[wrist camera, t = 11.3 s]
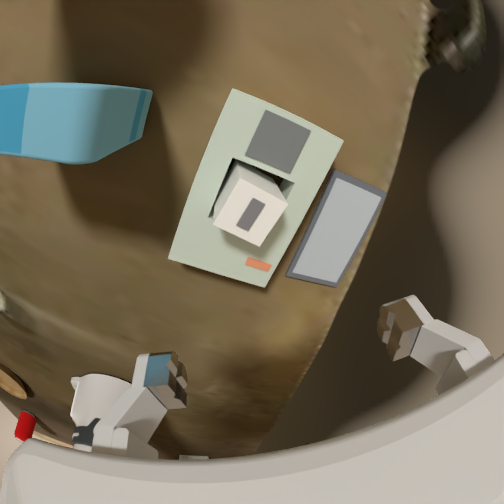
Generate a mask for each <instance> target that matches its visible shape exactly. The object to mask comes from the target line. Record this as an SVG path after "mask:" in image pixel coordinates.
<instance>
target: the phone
mask: <svg viewBox="0 0 504 504" xmlns="http://www.w3.org/2000/svg"><path fill="white" fill-rule="evenodd" d="M386 194H387V193H386V192H384V191H382V190H380V189H378V188H376V187H374V186H372V185H369V184H367V183H365V182H363V181H361V180H359V179H356V178H354V177H352V176H350V175H347V174H345V173H343V172H341V171H338V170H336V169H334V168H333V171H332V173H331V175H330V178H329V180H328V182H327V184H326V187H325V189H324V191H323V194H322V196H321V198H320V200H319V203H318V205H317V207H316V209H315V211H314V214H313V216H312V218H311V220H310V222H309V225H308V227H307V229H306V231H305V233H304V235H303V238H302V240H301V242H300V244H299V246H298V248H297V250H296V252H295V255H294V257H293V259H292V261H291V263H290V265H289V267H288V269H287V271H286V273H285V274H286V276H288V277H293V278H297V279H302V280H306V281H310V282H315V283H319V284H324V285H328V286H333V287H337V286H338V284H339V282H340V281H341V279H342V277H343V276H344V274H345V272H346V270H347V269H348V267H349V265H350V263H351V262H352V260H353V258H354V256H355V255H356V253H357V251H358V249H359V247H360V245H361V244H362V242H363V240H364V238H365V236H366V234H367V232H368V230H369V229H370V227H371V225H372V223H373V221H374V219H375V217H376V215H377V213H378V211H379V209H380V207H381V205H382V203H383V201H384V199H385V197H386Z"/></svg>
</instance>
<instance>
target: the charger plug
mask: <svg viewBox="0 0 504 504" xmlns="http://www.w3.org/2000/svg"><path fill="white" fill-rule="evenodd" d="M287 205H288V203H287V201H286V200H285V198H284V196H283V194H282V193H281V191H280V189H279V188H278V186H277V184H276V183H275V181H274V180H273V178H271V177H270V176H268V175H266V174H264V173H263V172H261V171H259V170H257V169H255V168H253V167H252V166H250V165H248V164H246V163H244V162H242V161H240V160H238V159H235V161H234V163H233V164H232V166H231V168H230V169H229V171H228V173H227V175H226V176H225V178H224V180H223V182H222V184H221V186H220V189H219V191H218V194H217V196H216V199H215V205H214V217H213V225H215V226H217V227H219V228H221V229H223V230H225V231H227V232H229V233H232V234H234V235H236V236H238V237H240V238H242V239H244V240H246V241H248V242H250V243H253V244H255V245H257V246H259V247H260V245H261V244H262V242H263V241H264V240H265V238H266V237H267V235H268V234H269V232H270V231H271V229H272V228H273V226H274V225H275V223H276V222H277V220H278V219H279V217H280V216H281V214H282V213H283V211H284V210H285V208H286V207H287Z"/></svg>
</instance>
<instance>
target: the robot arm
mask: <svg viewBox="0 0 504 504" xmlns="http://www.w3.org/2000/svg"><path fill="white" fill-rule="evenodd" d="M380 314H381V317H380V318H379V319H378V323H377V329H378V334H379V336H380V338H381V340H382V341H383V342H384V343H386V344H387V351H388V353H389V355H390V357H391V359H392V360H393V361H395V360H398V359H401V358H403V357H406V356H409V355H410V356H411V357H413V358H414V359H416V360H417V361H419V362H420V363H422V364H423V365H425V366H426V367H427V368H429V369H430V370H432V371H433V372H435V373H436V374H438V375H439V376H441V377H442V378H441V379H440V381H439V382H438V384H437V386H436V391H437V392H438V394H439V395H438V396H436V397H435V398H433V399H431V400H429V401H427V402H425V403H423V404H421V405H419V406H417V407H414V408H412V409H410V410H408V411H406V412H404V413H401V414H399V415H397V416H394V417H392V418H390V419H387V420H384V421H382V422H379V423H377V424H374V425H371V426H369V427H366V428H363V429H361V430H357V431H354V432H352V433H348V434H345V435H342V436H338V437H335V438H332V439H328V440H324V441H321V442H317V443H313V444H309V445H304V446H300V447H295V448H291V449H286V450H280V451H275V452H270V453H263V454H256V455H248V456H240V457H230V458H218V459H199V460H161V459H158V451H157V450H156V449H155V448H153V447H152V446H150V445H149V444H147V443H148V441H149V439H150V438H151V436H152V435H153V433H154V431H155V430H156V428H157V427H158V425H159V423H160V422H161V420H162V418H163V417H164V415H165V414H166V412H167V409H176V408H187V393H186V391H185V390H184V388H185V387H186V386H187V384H188V377H187V371H186V369H185V366H184V364H183V363H182V362H180V361H178V355H177V353H176V352H175V351H170V352H159V353H148V354H139V356H138V357H137V361H136V366H135V371H134V375H133V381H132V384H130V383H128V382H126V381H124V380H121V379H118V378H115V377H112V376H108V375H103V374H88V375H85V376H83V377H72V378H71V384H72V386H73V388H74V389H75V391H76V392H75V396H74V400H73V404H72V409H71V417H72V419H73V420H74V422H75V424H76V427H75V429H74V433H73V436H72V445H73V448H68V447H64V446H60V445H56V444H52V443H48V442H45V441H42V440H38V439H35V438H29V439H27V440H26V441H24V442H23V443H22V444H21V445H20V446H19V447H18V448H17V449H16V450H15V451H14V452H13V453H12V454H11V456H10V457H9V459H8V461H7V464H6V468H5V471H4V476H3V480H2V485H1V490H0V504H504V354H502V355H501V356H500V357H498V358H497V359H496V360H494V358H493V357H492V356H491V354H490V353H489V351H488V350H487V348H486V347H485V345H484V344H483V343H482V341H481V340H480V339H479V338H477V337H474V336H472V335H470V334H468V333H466V332H464V331H461V330H459V329H457V328H455V327H452V326H450V325H448V324H446V323H444V322H442V321H440V320H434V319H433V318H432V317H431V316H430V314H429V313H428V311H427V310H426V309H425V308H424V306H423V305H422V304H421V302H420V301H419V300H418V299H417V297H416V296H414V295H411V296H408V297H405V298H403V299H399V300H396V301H393V302H390V303H387V304H384V305H382V306H381V308H380Z"/></svg>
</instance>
